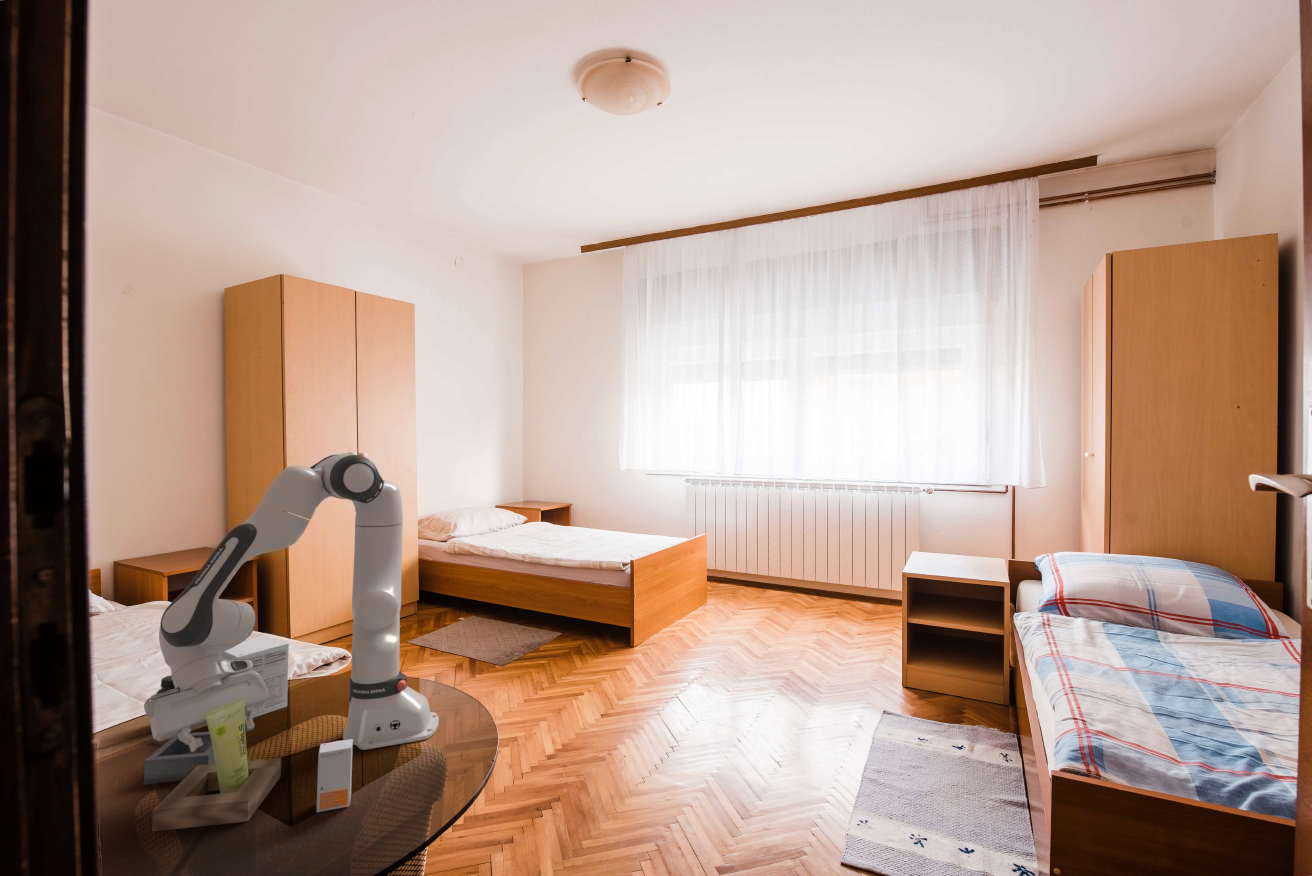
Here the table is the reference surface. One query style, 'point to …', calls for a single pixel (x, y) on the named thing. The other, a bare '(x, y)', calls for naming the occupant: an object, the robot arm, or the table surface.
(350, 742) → the skincare box
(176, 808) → the walnut socket block
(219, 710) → the tube
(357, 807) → the table surface
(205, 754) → the graphite collar stand
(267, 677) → the supplement box
